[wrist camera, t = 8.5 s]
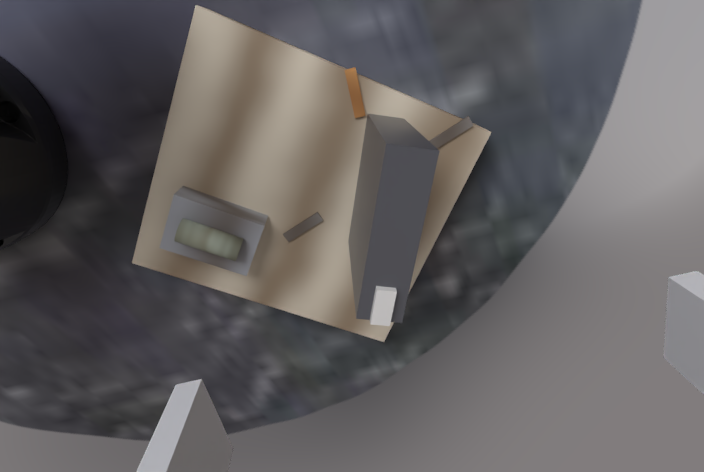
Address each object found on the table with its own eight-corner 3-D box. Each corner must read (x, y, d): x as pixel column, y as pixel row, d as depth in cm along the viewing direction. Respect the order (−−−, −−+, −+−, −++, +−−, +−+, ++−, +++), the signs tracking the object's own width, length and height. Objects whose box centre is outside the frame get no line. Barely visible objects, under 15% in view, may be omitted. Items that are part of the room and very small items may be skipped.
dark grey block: (367, 113, 29) (387, 145, 19) (404, 118, 29) (441, 152, 19) (348, 241, 32) (356, 323, 22) (381, 244, 32) (403, 327, 23)
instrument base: (147, 246, 35) (111, 285, 29) (209, 3, 29) (179, -9, 23) (379, 321, 39) (388, 369, 33) (479, 120, 33) (512, 136, 27)
